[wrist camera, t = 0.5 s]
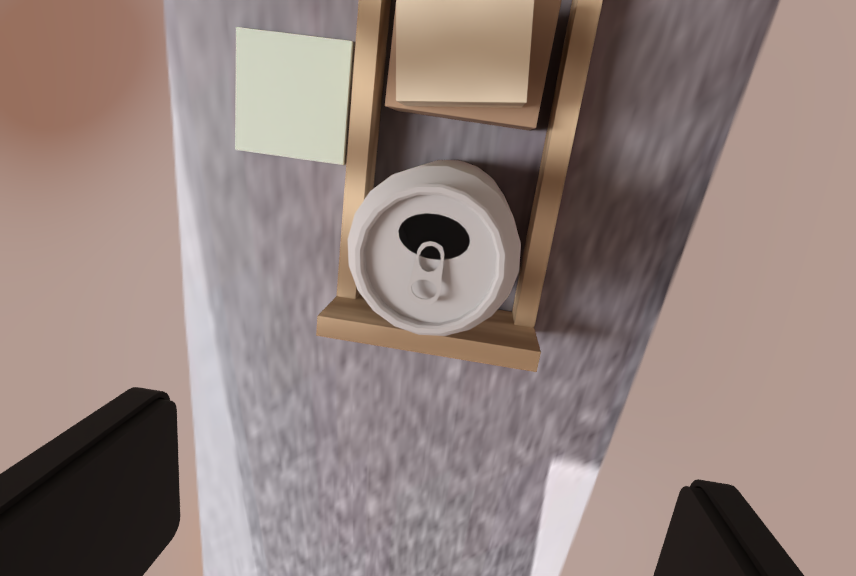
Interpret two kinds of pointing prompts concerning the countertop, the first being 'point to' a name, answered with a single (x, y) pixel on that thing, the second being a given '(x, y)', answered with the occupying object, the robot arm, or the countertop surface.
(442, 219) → the can
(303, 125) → the mat
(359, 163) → the frame
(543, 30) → the offcut large
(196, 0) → the countertop surface
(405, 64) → the offcut small
